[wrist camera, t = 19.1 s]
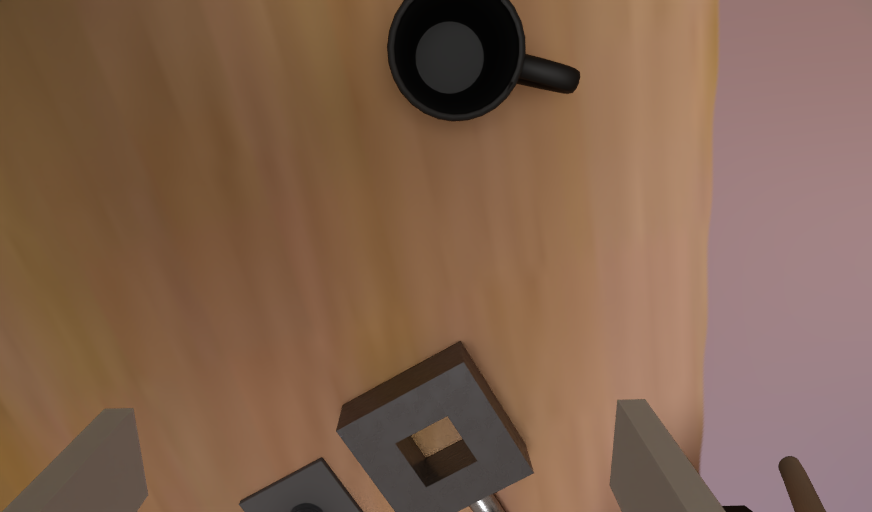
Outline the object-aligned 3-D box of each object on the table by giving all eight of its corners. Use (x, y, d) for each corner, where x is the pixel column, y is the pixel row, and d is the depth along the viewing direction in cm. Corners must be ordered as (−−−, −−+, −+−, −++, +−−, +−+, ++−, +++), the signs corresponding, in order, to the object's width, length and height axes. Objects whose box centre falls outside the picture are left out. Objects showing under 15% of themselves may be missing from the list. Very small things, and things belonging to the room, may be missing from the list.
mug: (532, 140, 45) (560, 153, 36) (382, 97, 44) (372, 100, 35) (567, 31, 43) (606, 16, 34) (410, -16, 42) (407, -46, 32)
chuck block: (342, 405, 51) (336, 430, 47) (460, 340, 49) (463, 362, 46) (460, 569, 56) (463, 604, 52) (570, 515, 55) (581, 547, 51)
